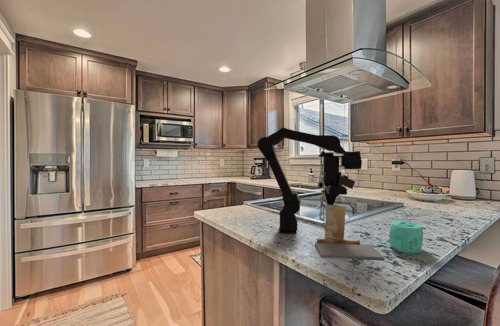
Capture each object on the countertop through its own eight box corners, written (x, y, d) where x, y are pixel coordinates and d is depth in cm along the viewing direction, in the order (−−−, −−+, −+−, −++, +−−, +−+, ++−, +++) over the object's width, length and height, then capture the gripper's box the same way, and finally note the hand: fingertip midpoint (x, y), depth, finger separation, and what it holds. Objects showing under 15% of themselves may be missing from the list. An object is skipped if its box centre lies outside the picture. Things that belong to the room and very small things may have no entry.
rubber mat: (321, 257, 71) (321, 255, 71) (314, 244, 81) (314, 242, 81) (384, 259, 69) (384, 257, 69) (369, 246, 79) (369, 244, 79)
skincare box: (324, 240, 85) (324, 206, 84) (326, 237, 89) (327, 204, 88) (343, 243, 82) (344, 208, 81) (345, 239, 86) (345, 206, 85)
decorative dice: (388, 249, 77) (389, 224, 77) (394, 242, 83) (395, 219, 83) (418, 256, 72) (419, 230, 72) (422, 248, 78) (423, 224, 78)
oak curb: (317, 244, 81) (317, 239, 81) (316, 243, 82) (316, 238, 82) (359, 245, 80) (360, 241, 80) (358, 244, 81) (358, 239, 81)
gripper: (363, 170, 81) (362, 216, 81) (344, 168, 100) (343, 205, 100) (329, 170, 82) (328, 215, 82) (317, 167, 100) (316, 204, 101)
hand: (330, 209), depth 91 cm, fingers closed
